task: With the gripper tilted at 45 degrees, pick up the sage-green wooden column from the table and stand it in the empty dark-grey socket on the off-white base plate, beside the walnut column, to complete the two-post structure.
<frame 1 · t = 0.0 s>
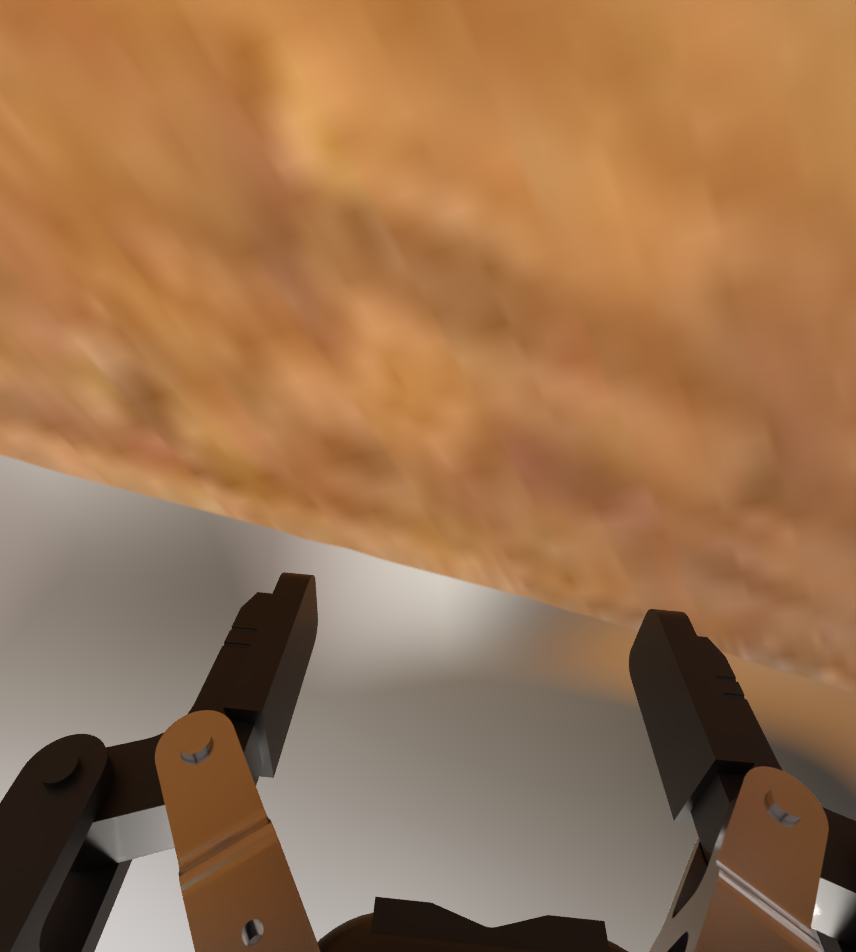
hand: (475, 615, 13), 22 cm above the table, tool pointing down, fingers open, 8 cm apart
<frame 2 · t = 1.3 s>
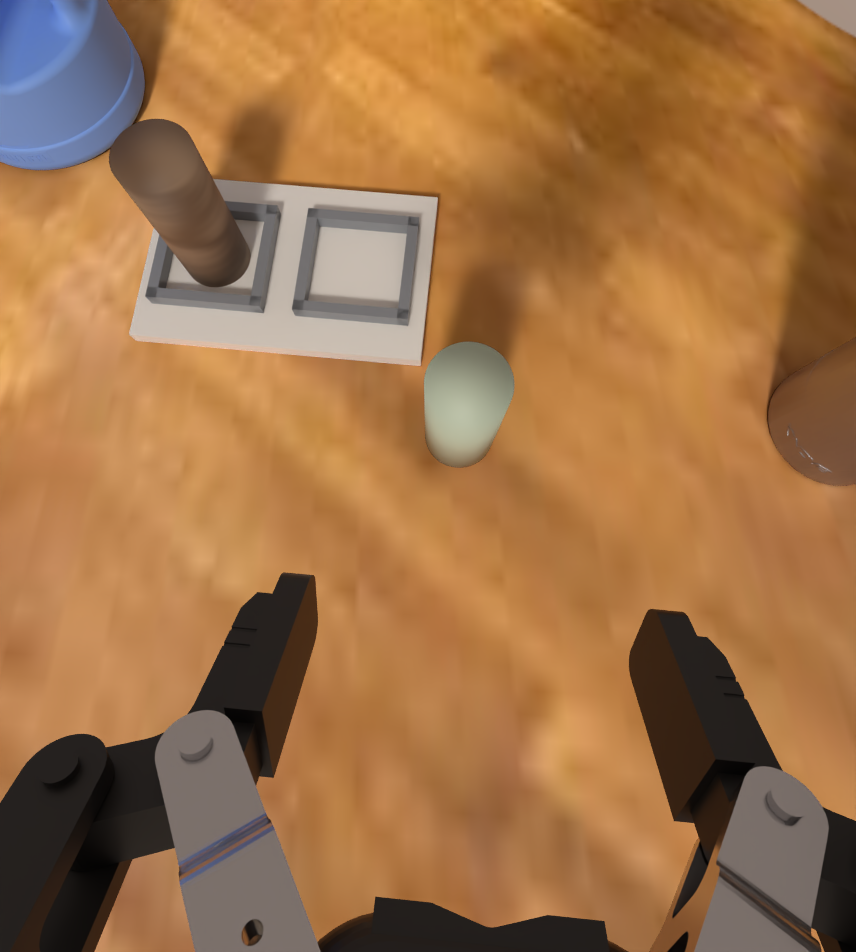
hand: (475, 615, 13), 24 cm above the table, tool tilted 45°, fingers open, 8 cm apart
base plate: (291, 271, 42), on the table
walnut column: (218, 258, 41), resting on base plate
water jug: (60, 100, 45), on the table
sage column: (458, 434, 39), on the table
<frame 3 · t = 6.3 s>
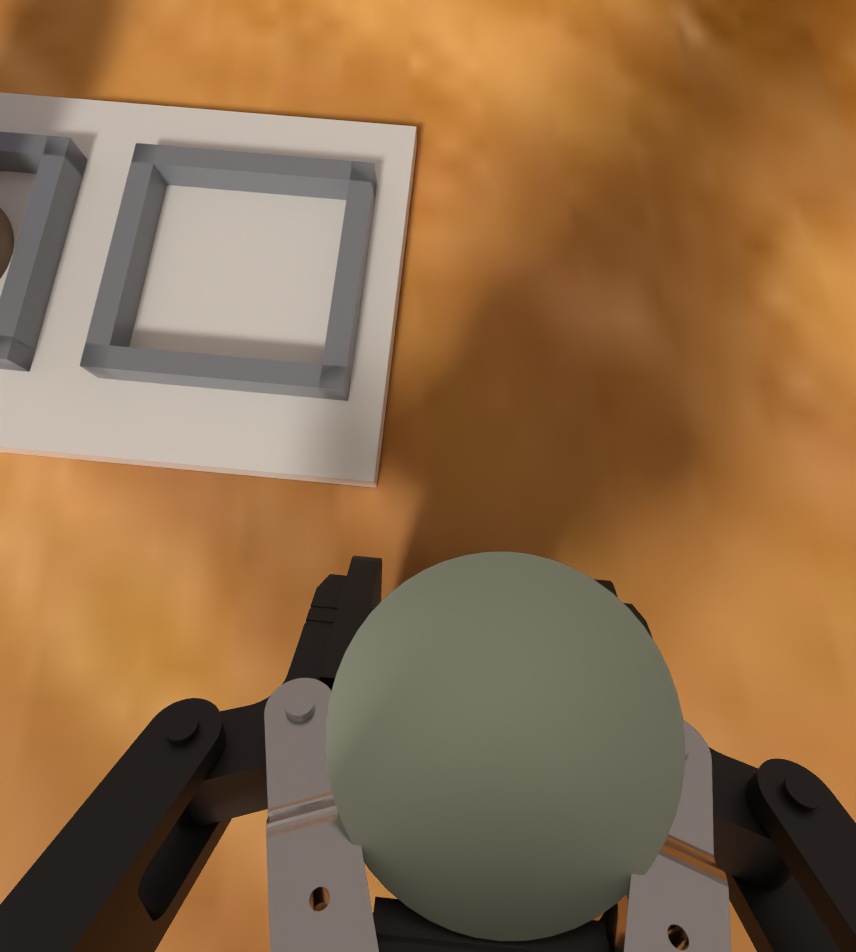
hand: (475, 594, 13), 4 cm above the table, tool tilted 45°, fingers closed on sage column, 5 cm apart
base plate: (109, 279, 20), on the table
sage column: (460, 650, 17), on the table, touching gripper
when the fingers open (7 cm above the table, at t = 13.8 s): sage column drops 1 cm, resting on base plate.
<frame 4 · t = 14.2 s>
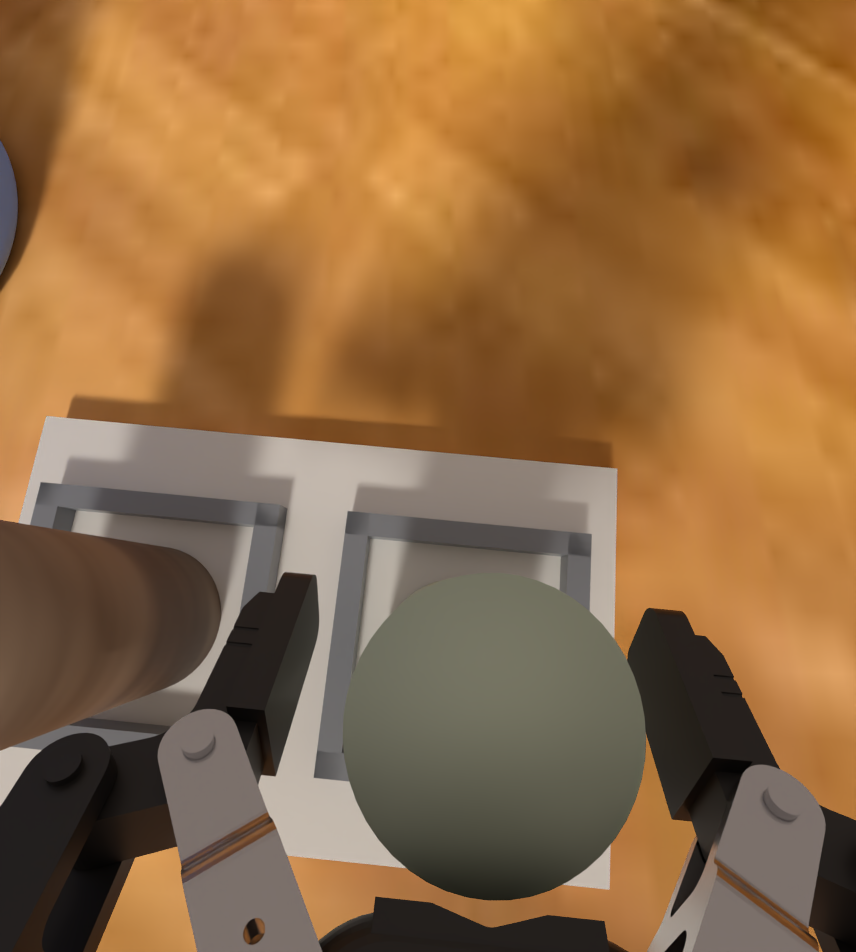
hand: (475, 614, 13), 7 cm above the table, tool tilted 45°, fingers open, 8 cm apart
base plate: (308, 629, 20), on the table
walnut column: (150, 617, 19), resting on base plate
sage column: (454, 651, 18), point 1 cm above the table, touching base plate
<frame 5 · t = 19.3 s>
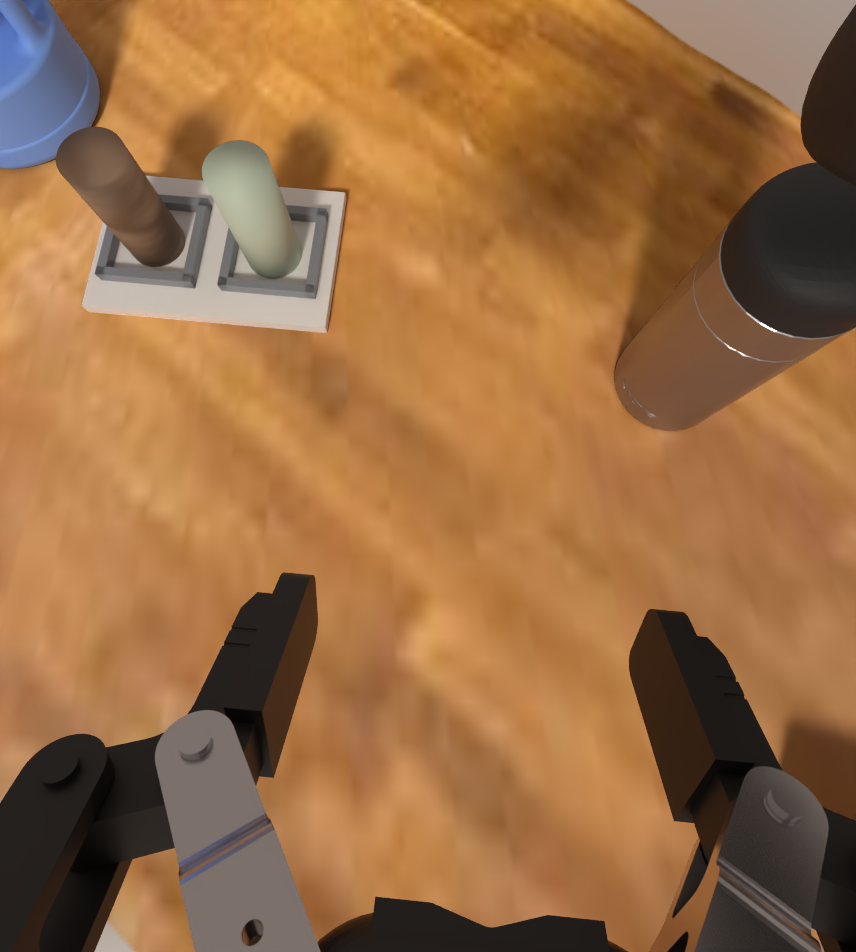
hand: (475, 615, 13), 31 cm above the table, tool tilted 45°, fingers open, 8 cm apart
base plate: (220, 254, 49), on the table
walnut column: (158, 242, 48), resting on base plate
water jug: (28, 109, 53), on the table
sage column: (274, 254, 48), point 1 cm above the table, touching base plate
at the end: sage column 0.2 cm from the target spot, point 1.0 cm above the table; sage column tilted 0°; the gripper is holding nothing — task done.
